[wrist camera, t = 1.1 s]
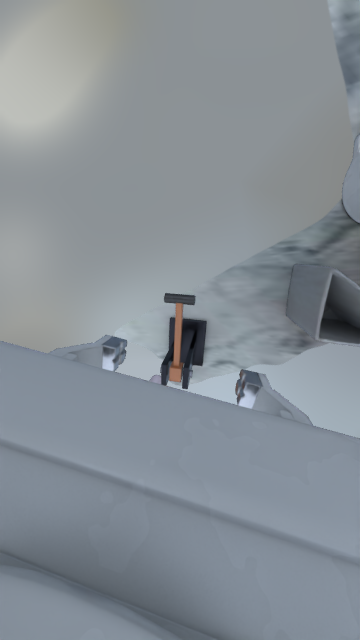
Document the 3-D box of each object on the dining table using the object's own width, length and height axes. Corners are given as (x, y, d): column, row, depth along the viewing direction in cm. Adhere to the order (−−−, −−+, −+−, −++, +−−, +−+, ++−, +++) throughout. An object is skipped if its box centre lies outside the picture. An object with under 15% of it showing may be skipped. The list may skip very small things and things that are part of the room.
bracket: (170, 317, 48) (150, 344, 33) (206, 320, 46) (202, 350, 32) (169, 359, 52) (150, 399, 37) (202, 363, 50) (196, 407, 35)
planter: (263, 289, 42) (299, 313, 24) (296, 263, 39) (365, 267, 21) (308, 341, 43) (374, 401, 25) (343, 319, 41) (444, 369, 23)
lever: (167, 291, 33) (163, 294, 30) (195, 294, 32) (194, 297, 30) (165, 372, 38) (161, 379, 36) (189, 376, 37) (188, 383, 35)
